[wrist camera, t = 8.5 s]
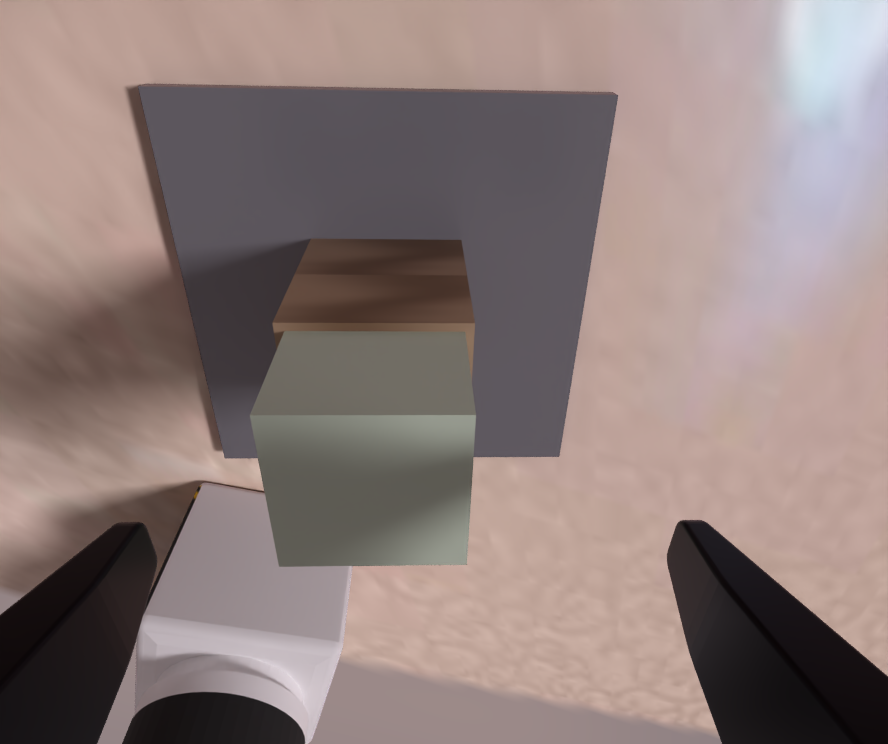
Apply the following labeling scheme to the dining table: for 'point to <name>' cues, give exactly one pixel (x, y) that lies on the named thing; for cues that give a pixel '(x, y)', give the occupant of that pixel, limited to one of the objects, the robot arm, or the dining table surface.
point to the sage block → (367, 448)
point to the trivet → (388, 224)
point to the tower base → (383, 257)
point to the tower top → (377, 305)
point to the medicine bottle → (235, 632)
